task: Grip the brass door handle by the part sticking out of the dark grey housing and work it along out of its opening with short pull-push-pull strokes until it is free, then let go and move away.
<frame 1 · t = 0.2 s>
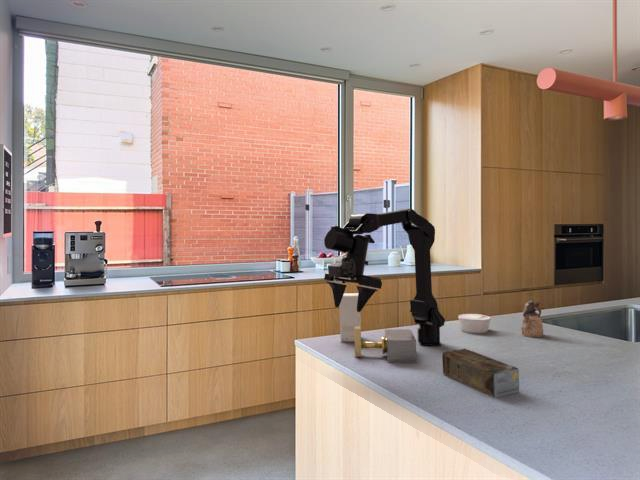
hand: (347, 309, 137), 15 cm above the counter, tool pointing down, fingers open, 9 cm apart
ramekin: (474, 331, 175), on the counter
brass door handle: (378, 341, 143), point 4 cm above the counter, slide at 0.0 cm
figurine: (532, 335, 166), on the counter
housing: (399, 355, 143), on the counter
skincare box: (350, 339, 165), on the counter
beverage carton: (478, 384, 118), on the counter
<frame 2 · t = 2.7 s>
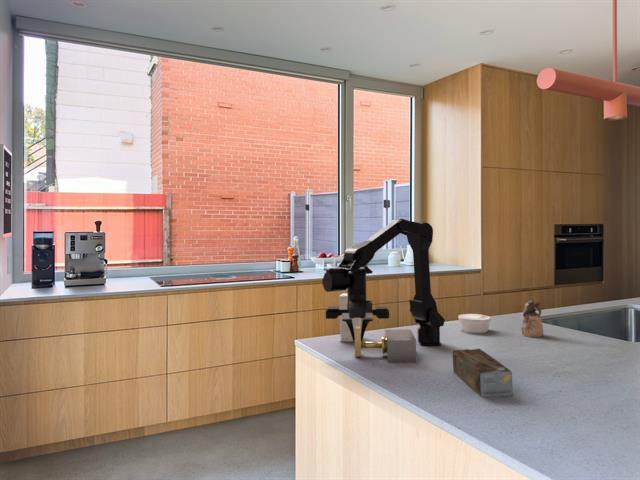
hand: (357, 340, 144), 5 cm above the counter, tool pointing down, fingers closed on brass door handle, 2 cm apart
brass door handle: (378, 341, 143), point 4 cm above the counter, slide at 0.0 cm, touching gripper
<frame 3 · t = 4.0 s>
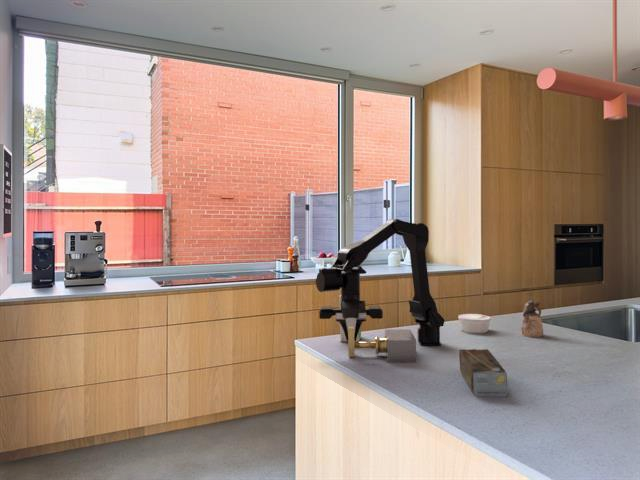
hand: (351, 340, 144), 5 cm above the counter, tool pointing down, fingers closed on brass door handle, 2 cm apart
brass door handle: (372, 341, 144), point 4 cm above the counter, slide at 1.9 cm, touching gripper
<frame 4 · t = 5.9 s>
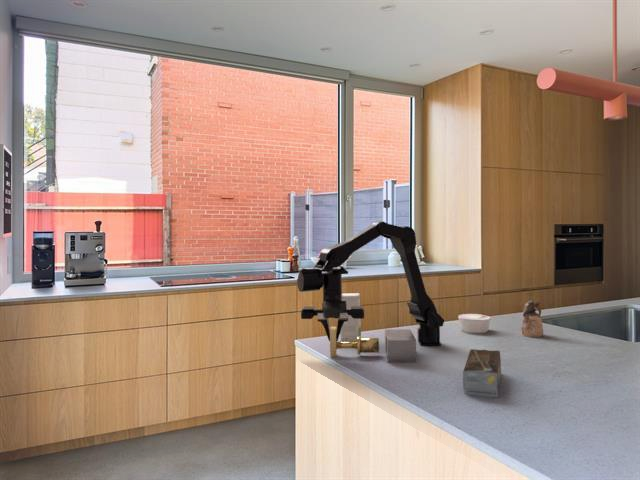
hand: (333, 340, 144), 5 cm above the counter, tool pointing down, fingers closed on brass door handle, 2 cm apart
brass door handle: (354, 341, 144), point 4 cm above the counter, slide at 7.3 cm, touching gripper
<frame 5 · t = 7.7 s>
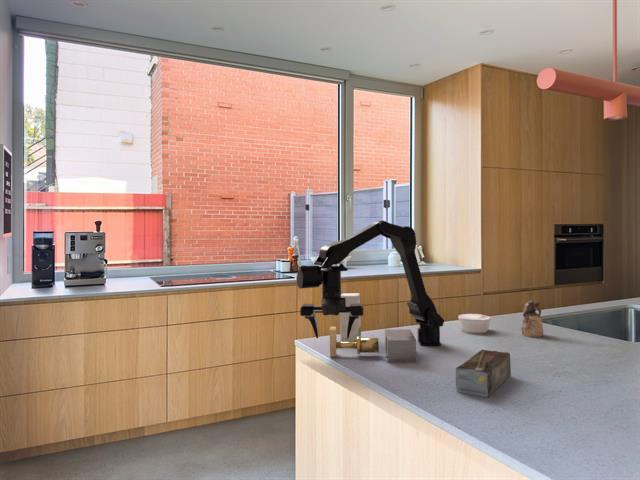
hand: (332, 338, 144), 5 cm above the counter, tool pointing down, fingers open, 9 cm apart
brass door handle: (354, 341, 144), point 4 cm above the counter, slide at 7.4 cm
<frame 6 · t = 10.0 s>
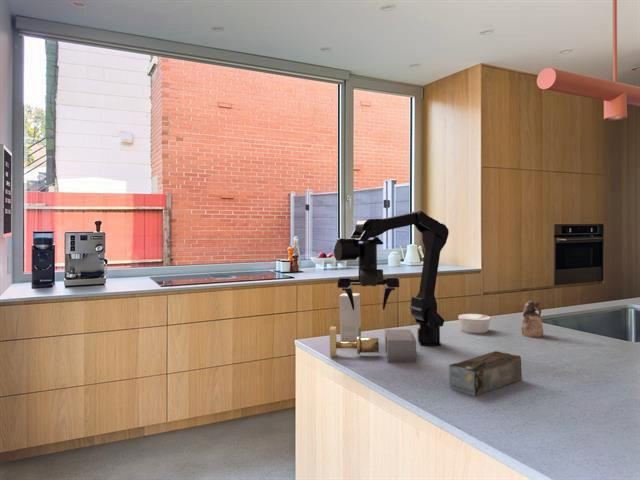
hand: (368, 309, 148), 13 cm above the counter, tool pointing down, fingers open, 9 cm apart
at the end: brass door handle slide at 7.4 cm; the gripper is holding nothing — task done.
